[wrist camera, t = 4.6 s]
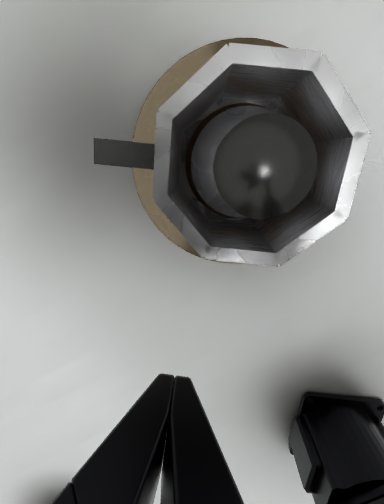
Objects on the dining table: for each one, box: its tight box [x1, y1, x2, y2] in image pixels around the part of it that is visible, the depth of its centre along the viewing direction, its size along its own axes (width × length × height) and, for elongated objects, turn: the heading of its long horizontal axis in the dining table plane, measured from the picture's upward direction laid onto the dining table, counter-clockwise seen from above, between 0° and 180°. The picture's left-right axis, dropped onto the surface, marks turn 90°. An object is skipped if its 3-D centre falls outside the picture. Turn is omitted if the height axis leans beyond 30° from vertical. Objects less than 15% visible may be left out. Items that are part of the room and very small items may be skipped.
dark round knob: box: [191, 106, 318, 219], centre depth 12 cm, size 5×5×6 cm
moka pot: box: [94, 38, 371, 267], centre depth 14 cm, size 13×13×7 cm
